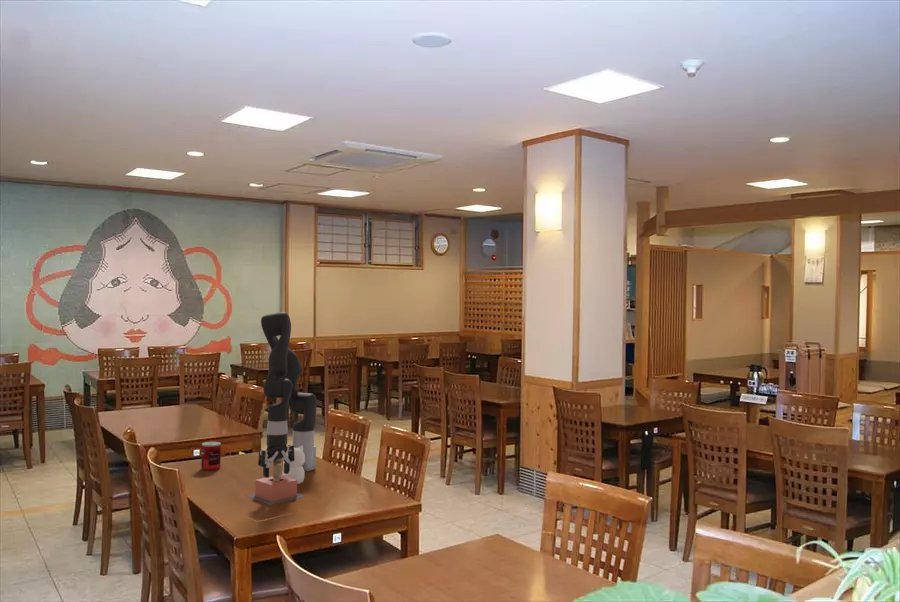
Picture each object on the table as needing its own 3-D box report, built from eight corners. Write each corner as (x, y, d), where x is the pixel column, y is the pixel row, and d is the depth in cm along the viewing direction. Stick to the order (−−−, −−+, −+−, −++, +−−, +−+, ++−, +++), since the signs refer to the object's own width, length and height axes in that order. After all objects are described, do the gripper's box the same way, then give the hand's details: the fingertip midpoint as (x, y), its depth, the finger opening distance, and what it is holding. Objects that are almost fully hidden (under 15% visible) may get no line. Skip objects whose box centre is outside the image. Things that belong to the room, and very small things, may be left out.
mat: (282, 488, 272) (282, 487, 272) (306, 497, 261) (306, 496, 261) (245, 496, 260) (245, 495, 260) (269, 505, 249) (269, 504, 249)
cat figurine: (291, 488, 274) (292, 450, 274) (273, 481, 282) (274, 444, 282) (310, 483, 281) (311, 446, 280) (291, 477, 289) (292, 441, 289)
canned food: (206, 466, 306) (206, 441, 306) (223, 467, 305) (224, 442, 305) (197, 470, 298) (198, 444, 298) (215, 471, 297) (215, 445, 297)
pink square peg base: (280, 490, 269) (280, 474, 269) (296, 496, 261) (297, 480, 261) (255, 495, 260) (255, 479, 260) (271, 502, 253) (271, 485, 253)
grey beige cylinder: (277, 494, 263) (278, 457, 263) (281, 495, 261) (282, 458, 261) (270, 495, 261) (271, 458, 261) (275, 497, 259) (276, 459, 259)
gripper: (287, 428, 269) (286, 470, 269) (254, 433, 258) (254, 476, 258) (299, 431, 263) (298, 474, 263) (266, 436, 253) (265, 480, 253)
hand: (276, 475), depth 261 cm, fingers open, 8 cm apart
